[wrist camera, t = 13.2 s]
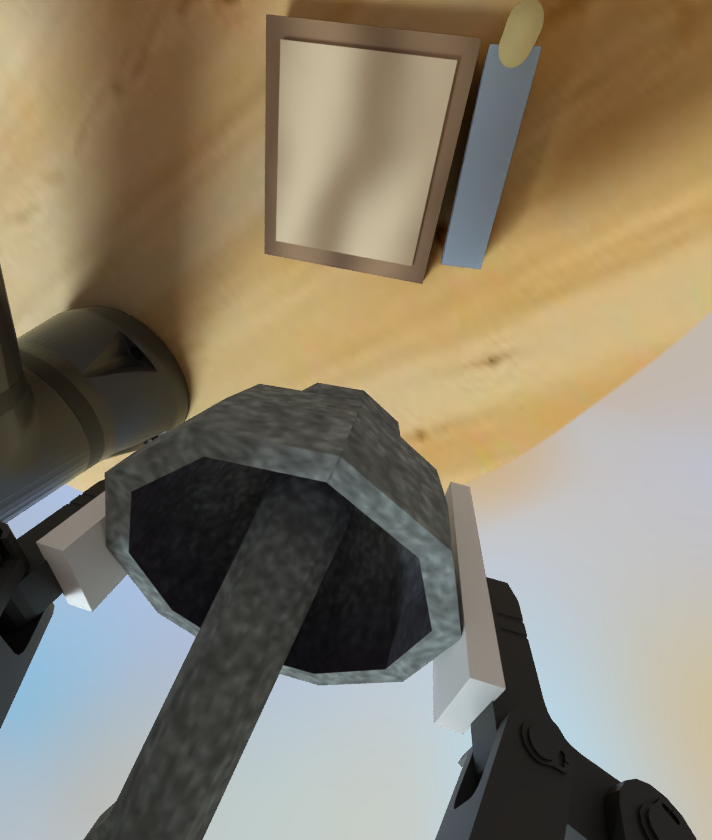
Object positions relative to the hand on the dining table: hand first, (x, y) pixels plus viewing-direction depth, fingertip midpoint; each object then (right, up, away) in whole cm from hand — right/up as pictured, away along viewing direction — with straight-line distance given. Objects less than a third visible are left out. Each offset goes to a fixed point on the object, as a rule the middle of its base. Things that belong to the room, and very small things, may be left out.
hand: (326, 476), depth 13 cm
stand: (+2, +20, +8) cm, 21 cm away
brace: (+9, +18, +7) cm, 22 cm away
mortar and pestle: (0, +1, +1) cm, 1 cm away
